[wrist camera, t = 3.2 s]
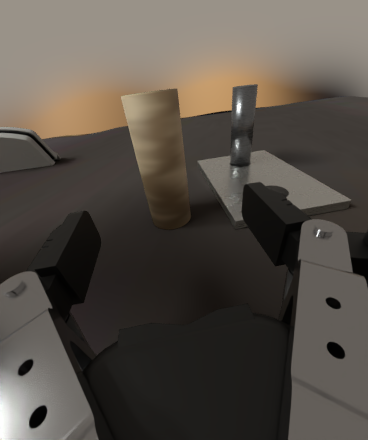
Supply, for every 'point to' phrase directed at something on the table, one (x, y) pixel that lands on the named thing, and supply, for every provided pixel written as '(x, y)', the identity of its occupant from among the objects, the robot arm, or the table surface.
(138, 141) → the oak post
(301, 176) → the bolt plate
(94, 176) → the table surface
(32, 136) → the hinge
